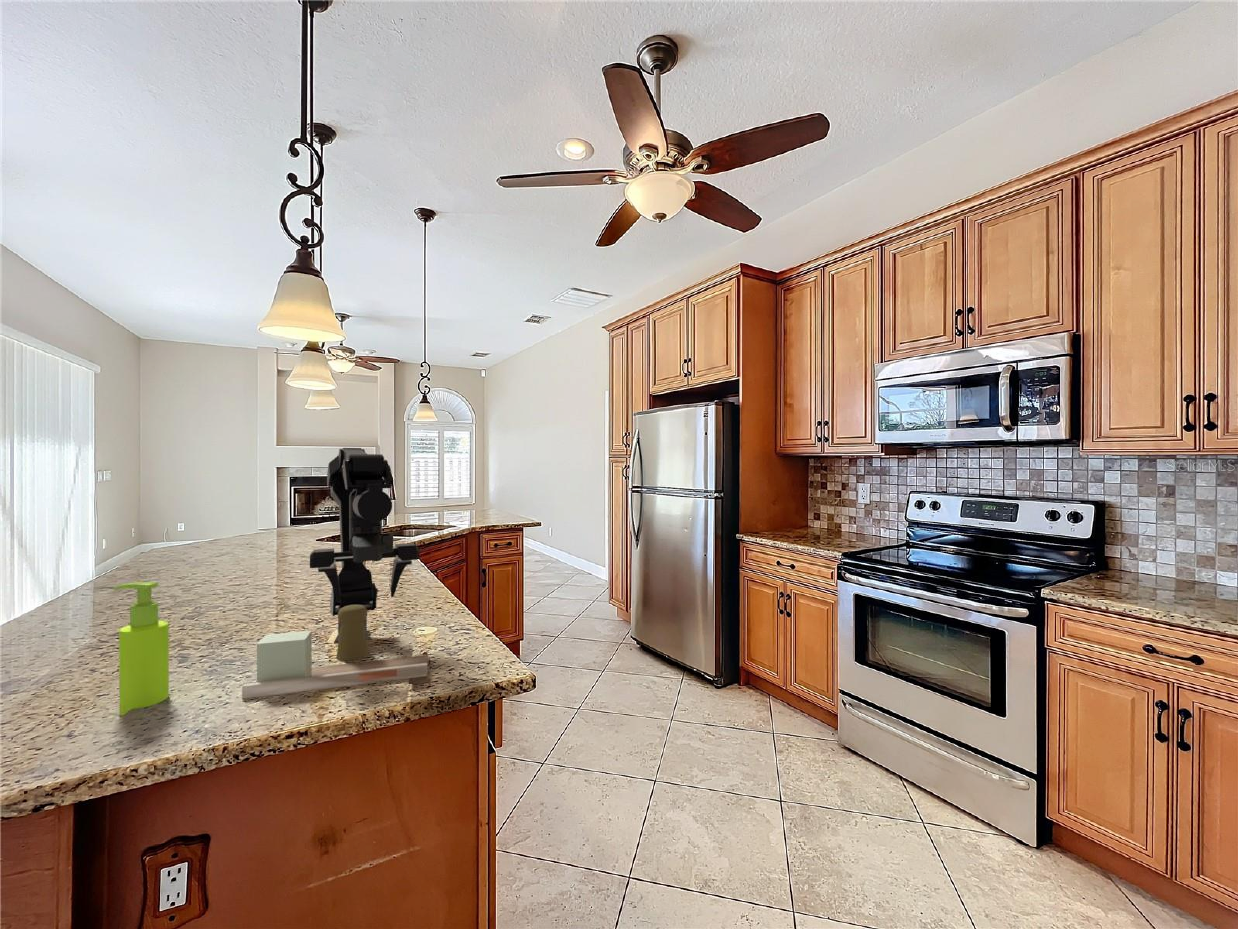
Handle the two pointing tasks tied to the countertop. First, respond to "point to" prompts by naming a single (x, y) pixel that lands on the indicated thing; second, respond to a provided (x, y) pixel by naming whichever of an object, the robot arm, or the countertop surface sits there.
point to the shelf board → (345, 676)
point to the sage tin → (284, 656)
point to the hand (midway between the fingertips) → (366, 599)
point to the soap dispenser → (143, 653)
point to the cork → (352, 633)
